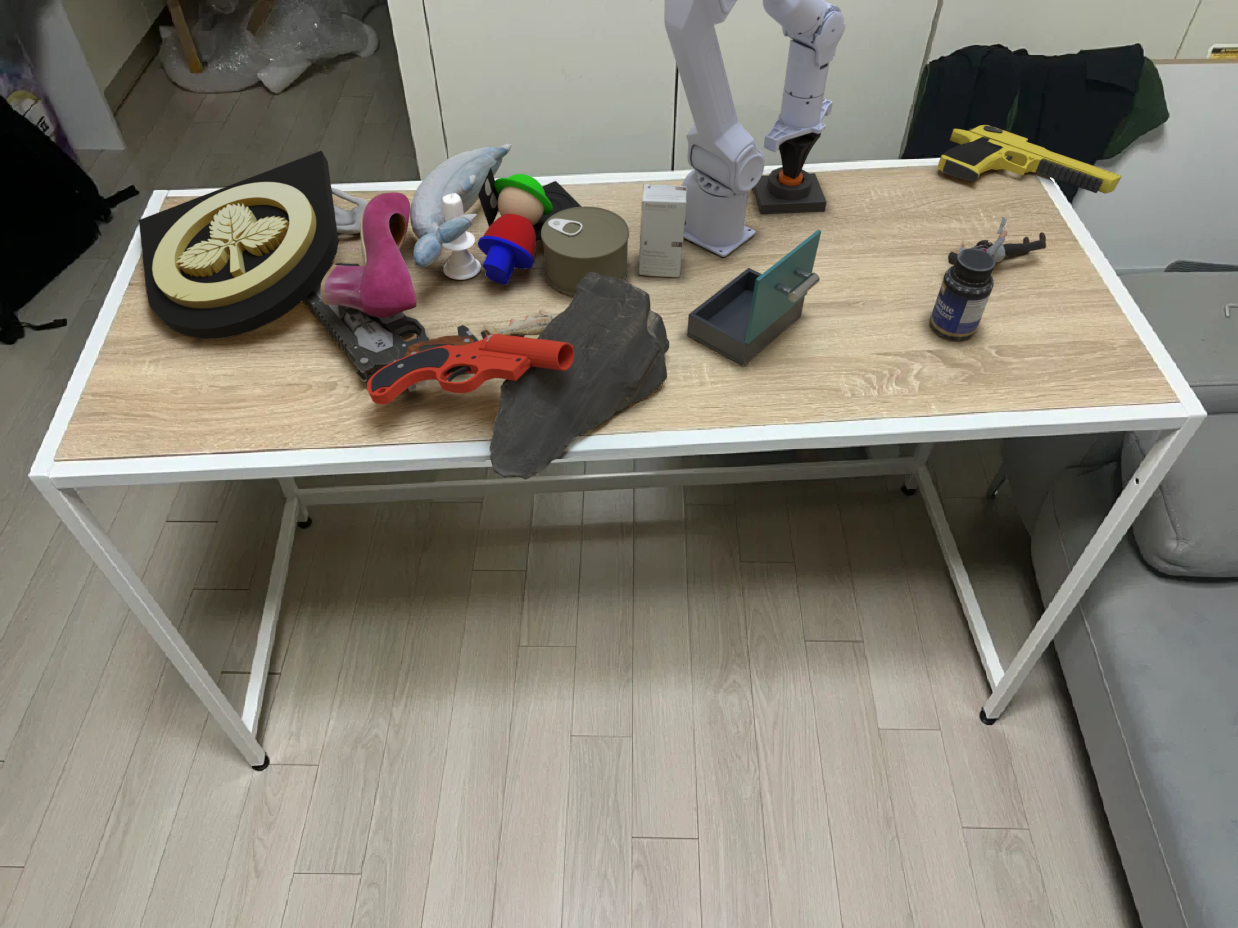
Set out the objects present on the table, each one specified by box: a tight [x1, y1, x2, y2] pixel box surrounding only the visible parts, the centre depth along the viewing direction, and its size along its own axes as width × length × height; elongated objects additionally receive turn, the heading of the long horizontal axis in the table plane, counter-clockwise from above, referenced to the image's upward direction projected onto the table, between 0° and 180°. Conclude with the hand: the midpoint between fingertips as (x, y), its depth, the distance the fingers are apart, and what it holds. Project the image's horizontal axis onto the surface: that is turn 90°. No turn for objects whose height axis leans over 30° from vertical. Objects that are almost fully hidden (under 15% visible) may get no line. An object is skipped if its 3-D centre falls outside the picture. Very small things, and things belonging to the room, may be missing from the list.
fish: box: [482, 309, 559, 339], centre depth 123 cm, size 12×2×5 cm
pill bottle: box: [929, 247, 996, 342], centre depth 120 cm, size 6×6×11 cm
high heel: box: [321, 191, 417, 318], centre depth 124 cm, size 26×9×12 cm
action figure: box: [947, 216, 1047, 266], centre depth 131 cm, size 9×7×15 cm
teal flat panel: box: [745, 229, 822, 344], centre depth 115 cm, size 10×13×4 cm
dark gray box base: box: [686, 267, 806, 367], centre depth 123 cm, size 9×13×4 cm
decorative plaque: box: [138, 150, 339, 340], centre depth 128 cm, size 28×4×30 cm
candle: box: [442, 193, 482, 281], centre depth 128 cm, size 5×5×12 cm
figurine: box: [331, 187, 369, 235], centre depth 137 cm, size 10×6×20 cm
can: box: [541, 205, 630, 298], centre depth 130 cm, size 12×12×7 cm
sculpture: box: [409, 143, 513, 268], centre depth 130 cm, size 18×8×25 cm
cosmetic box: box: [638, 183, 687, 278], centre depth 128 cm, size 6×4×12 cm
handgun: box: [937, 124, 1122, 195], centre depth 147 cm, size 4×26×15 cm
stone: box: [489, 272, 670, 480], centre depth 112 cm, size 16×12×30 cm
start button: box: [778, 170, 803, 186], centre depth 142 cm, size 4×4×2 cm
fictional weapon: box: [301, 262, 480, 392], centre depth 123 cm, size 28×4×15 cm
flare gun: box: [366, 331, 574, 406], centre depth 108 cm, size 3×23×15 cm
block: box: [751, 166, 828, 215], centre depth 143 cm, size 10×8×4 cm
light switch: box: [533, 180, 583, 243], centre depth 137 cm, size 10×4×10 cm
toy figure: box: [477, 168, 553, 286], centre depth 129 cm, size 9×10×15 cm
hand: (791, 174), depth 141 cm, fingers closed, pressing on start button
